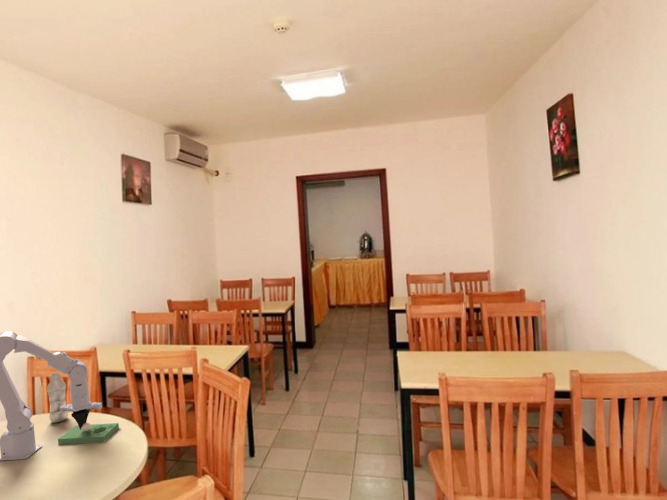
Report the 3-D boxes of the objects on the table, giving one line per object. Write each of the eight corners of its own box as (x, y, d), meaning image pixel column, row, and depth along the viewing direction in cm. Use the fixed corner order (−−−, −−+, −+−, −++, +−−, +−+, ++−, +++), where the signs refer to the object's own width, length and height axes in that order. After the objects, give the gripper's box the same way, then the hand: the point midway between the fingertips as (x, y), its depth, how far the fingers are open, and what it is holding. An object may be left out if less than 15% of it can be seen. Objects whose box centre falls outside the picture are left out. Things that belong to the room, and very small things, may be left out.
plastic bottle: (55, 417, 165) (51, 372, 164) (72, 416, 166) (68, 370, 165) (46, 425, 159) (41, 378, 158) (63, 423, 159) (59, 376, 158)
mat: (58, 444, 143) (57, 439, 143) (76, 430, 153) (75, 425, 153) (104, 441, 143) (103, 436, 143) (118, 427, 153) (118, 423, 153)
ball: (77, 428, 147) (83, 423, 146) (83, 424, 150) (89, 419, 150) (83, 435, 147) (89, 429, 146) (88, 430, 150) (94, 425, 150)
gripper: (53, 399, 143) (56, 435, 144) (93, 396, 144) (96, 432, 145) (65, 391, 150) (68, 425, 151) (103, 389, 151) (106, 422, 152)
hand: (83, 428), depth 148 cm, fingers closed, pressing on ball
